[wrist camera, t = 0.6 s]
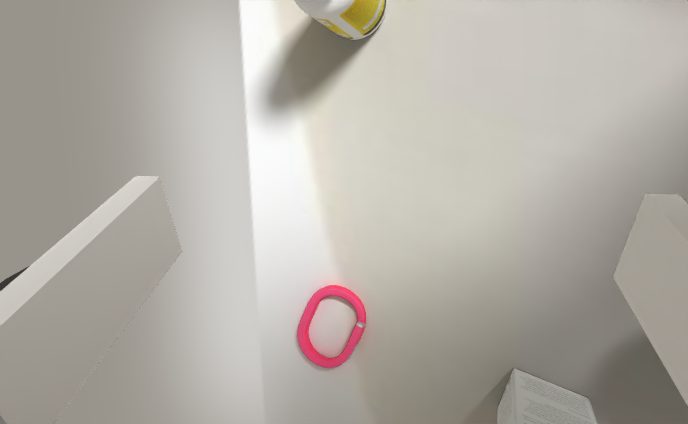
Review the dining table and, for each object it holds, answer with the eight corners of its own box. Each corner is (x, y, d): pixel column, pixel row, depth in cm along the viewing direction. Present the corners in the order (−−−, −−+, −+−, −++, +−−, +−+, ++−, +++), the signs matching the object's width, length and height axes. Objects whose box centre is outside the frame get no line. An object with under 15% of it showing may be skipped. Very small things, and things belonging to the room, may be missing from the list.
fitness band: (343, 373, 42) (338, 381, 40) (294, 341, 43) (286, 348, 42) (377, 304, 39) (372, 310, 38) (323, 273, 41) (317, 277, 40)
